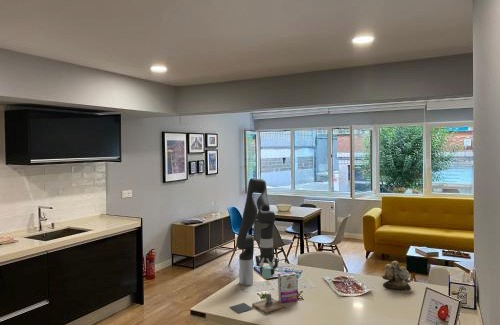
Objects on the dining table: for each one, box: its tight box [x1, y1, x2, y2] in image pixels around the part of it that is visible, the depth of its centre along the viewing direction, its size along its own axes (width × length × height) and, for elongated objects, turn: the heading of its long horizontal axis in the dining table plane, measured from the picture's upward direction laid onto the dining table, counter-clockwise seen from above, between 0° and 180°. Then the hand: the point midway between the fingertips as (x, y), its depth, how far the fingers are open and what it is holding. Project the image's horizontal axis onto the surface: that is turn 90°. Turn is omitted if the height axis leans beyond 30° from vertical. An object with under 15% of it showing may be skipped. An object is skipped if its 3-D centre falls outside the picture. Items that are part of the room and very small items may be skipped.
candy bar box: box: [277, 271, 299, 304], centre depth 226 cm, size 11×5×16 cm, turn 105°
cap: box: [261, 265, 274, 279], centre depth 216 cm, size 6×6×6 cm
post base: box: [251, 293, 287, 315], centre depth 217 cm, size 14×14×8 cm
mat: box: [229, 302, 254, 314], centre depth 216 cm, size 10×10×1 cm
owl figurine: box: [381, 260, 412, 291], centre depth 244 cm, size 18×12×17 cm, turn 79°
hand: (267, 274), depth 217 cm, fingers closed on cap, 6 cm apart
